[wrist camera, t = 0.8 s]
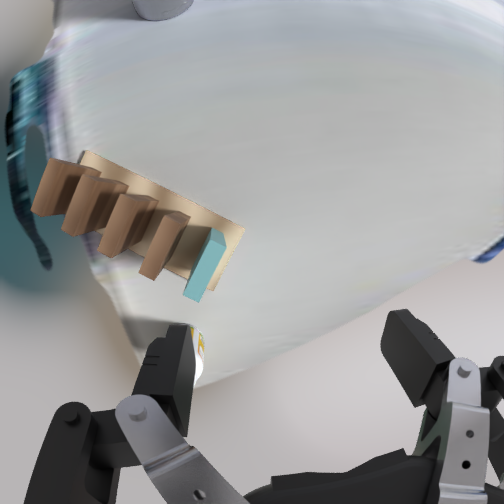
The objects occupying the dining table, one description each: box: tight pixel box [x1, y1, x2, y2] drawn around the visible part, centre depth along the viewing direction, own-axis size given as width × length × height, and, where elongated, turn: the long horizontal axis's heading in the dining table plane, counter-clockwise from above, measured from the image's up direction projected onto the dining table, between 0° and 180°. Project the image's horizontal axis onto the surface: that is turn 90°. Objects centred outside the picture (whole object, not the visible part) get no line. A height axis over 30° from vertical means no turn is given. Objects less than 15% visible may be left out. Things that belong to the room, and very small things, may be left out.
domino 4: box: [139, 211, 191, 281], centre depth 29 cm, size 2×6×11 cm, turn 152°
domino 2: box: [61, 174, 129, 237], centre depth 27 cm, size 2×6×11 cm, turn 152°
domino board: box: [80, 150, 245, 291], centre depth 34 cm, size 24×9×1 cm, turn 62°
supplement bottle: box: [180, 324, 204, 387], centre depth 33 cm, size 5×5×10 cm
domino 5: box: [183, 228, 227, 302], centre depth 30 cm, size 2×6×11 cm, turn 152°
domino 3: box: [97, 194, 159, 258], centre depth 28 cm, size 2×6×11 cm, turn 152°
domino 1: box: [31, 158, 102, 217], centre depth 27 cm, size 2×6×11 cm, turn 152°
